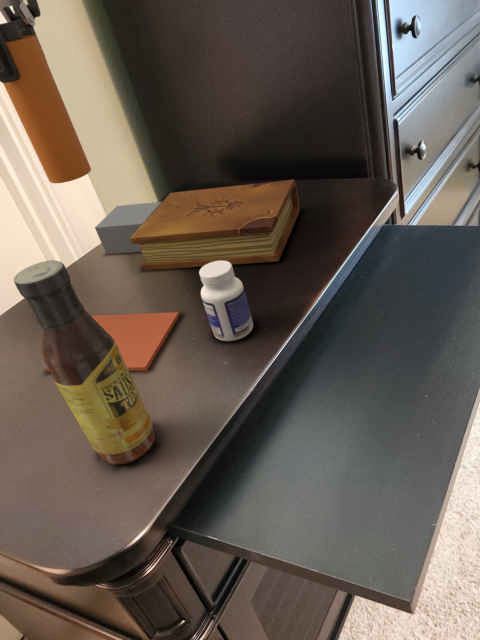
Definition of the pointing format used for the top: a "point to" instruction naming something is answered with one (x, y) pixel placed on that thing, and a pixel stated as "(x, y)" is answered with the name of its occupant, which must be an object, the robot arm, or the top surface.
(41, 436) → the top surface
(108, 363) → the sauce bottle
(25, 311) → the top surface
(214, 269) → the pill bottle
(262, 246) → the diary
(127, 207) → the grey stand
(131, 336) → the mat
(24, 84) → the amber bottle
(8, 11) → the robot arm
